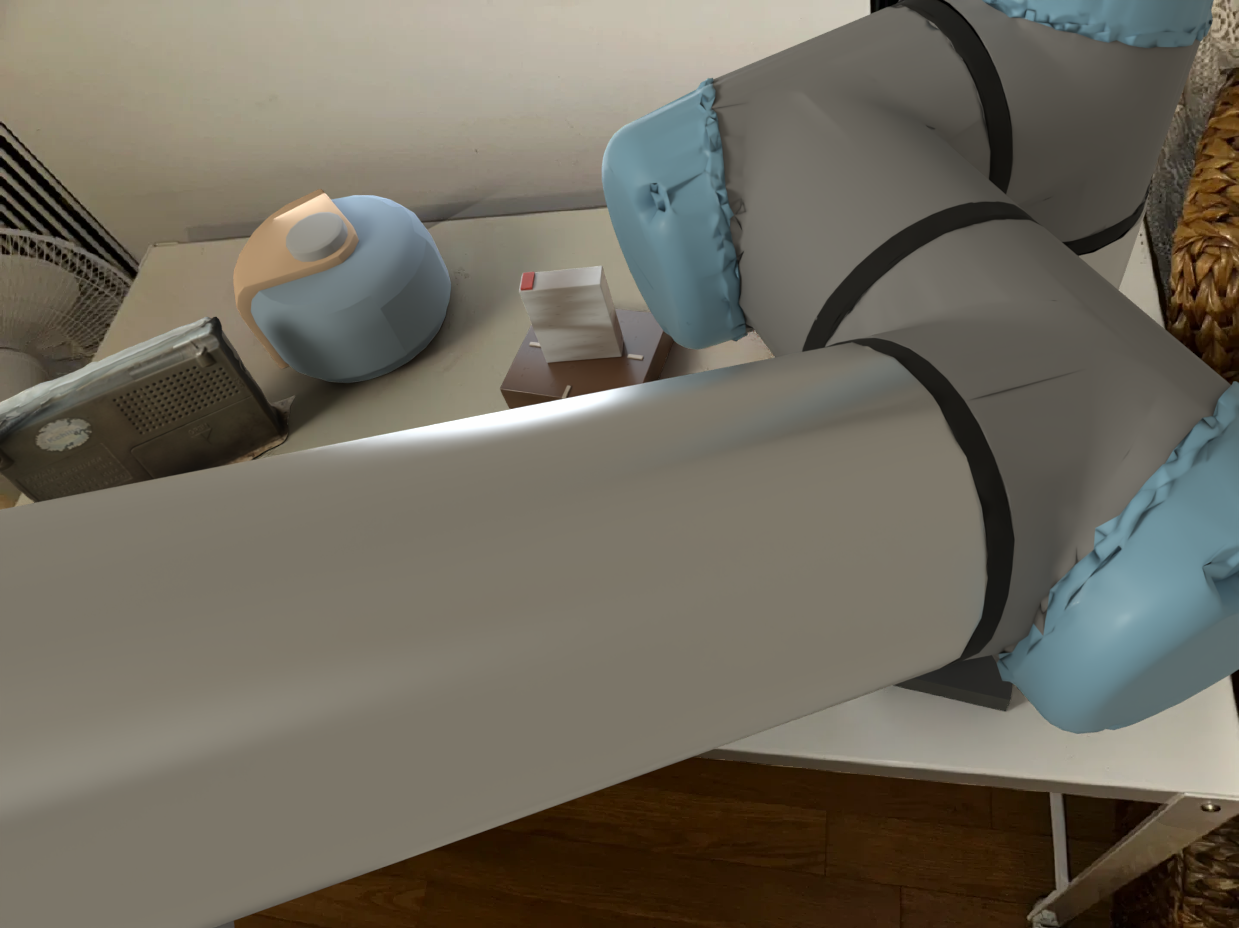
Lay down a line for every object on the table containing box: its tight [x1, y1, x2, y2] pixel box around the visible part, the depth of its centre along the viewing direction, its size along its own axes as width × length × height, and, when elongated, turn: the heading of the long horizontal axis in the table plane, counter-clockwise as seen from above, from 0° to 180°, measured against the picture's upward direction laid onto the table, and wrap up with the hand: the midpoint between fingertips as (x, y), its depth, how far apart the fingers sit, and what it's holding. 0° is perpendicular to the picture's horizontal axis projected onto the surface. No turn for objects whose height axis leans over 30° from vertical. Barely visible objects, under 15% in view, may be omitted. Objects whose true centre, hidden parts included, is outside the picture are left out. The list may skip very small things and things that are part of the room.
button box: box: [892, 655, 1014, 713], centre depth 64 cm, size 11×9×4 cm
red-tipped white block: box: [518, 265, 624, 363], centre depth 80 cm, size 7×2×9 cm, turn 86°
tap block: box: [499, 308, 675, 410], centre depth 84 cm, size 11×13×3 cm
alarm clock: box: [232, 188, 452, 384], centre depth 91 cm, size 19×20×12 cm
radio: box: [0, 316, 296, 503], centre depth 83 cm, size 23×9×15 cm, turn 110°
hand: (961, 550), depth 57 cm, fingers open, 4 cm apart
